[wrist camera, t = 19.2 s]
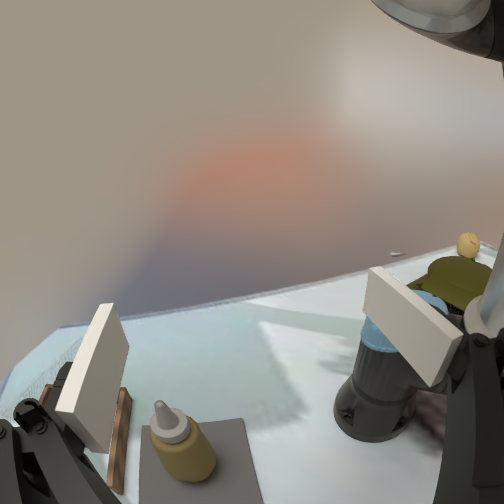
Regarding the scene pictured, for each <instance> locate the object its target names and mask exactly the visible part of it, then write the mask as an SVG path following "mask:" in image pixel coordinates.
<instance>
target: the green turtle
mask: <svg viewBox="0 0 504 504" xmlns="http://www.w3.org/2000/svg"><path fill="white" fill-rule="evenodd" d="M491 272H492V269H491V268H490V267H488V266H487V265H485V264H481V263H478V262H475V260H473V259H470V258H466V257H460V256H448V257H442V258H439V259H437V260H435V261H433V262H432V263H431V264H430V266H429V267H428V274H426V275H424V276H422V277H421V278H419V279H417V280H415V281H413V282H411V283H410V284H408V285H406V286H407V287H408V288H409V289H411V290H420V291H423V290H424V291H426V292H428V293H431V294H433V296H435V297H439V298H440V299H441V300H442V301H444V302H446V303H448V304H450V305H452V306H453V307H455V308H457V309H459V310H461V311H462V312H465V310H466V308H467V306H468V304H469V303H470V302H471V301H472V300H473V299H474V298H476V297H478V296H480V295H483V293H484V290H485V288H486V285H487V283H488V280H489V277H490V274H491Z"/></svg>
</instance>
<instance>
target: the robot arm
mask: <svg viewBox="0 0 504 504" xmlns="http://www.w3.org/2000/svg"><path fill="white" fill-rule="evenodd" d="M371 1H372V2H373V3H374V4H375V5H376V6H377V7H378V8H379V9H381V10H382V11H383V12H384V13H385V14H387V15H388V16H389V17H391V18H392V19H393V20H395V21H397V22H399V23H400V24H402V25H403V26H405V27H407V28H409V29H411V30H413V31H414V32H416V33H419V34H421V35H423V36H426V37H427V38H430V39H432V40H434V41H436V42H439V43H441V44H443V45H446V46H449V47H451V48H453V49H457V50H460V51H463V52H466V53H469V54H472V55H476V56H480V57H484V58H488V59H493V60H496V61H499V62H501V63H502V67H503V76H504V0H371ZM363 312H364V313H365V314H366V315H367V316H366V320H365V323H364V326H363V327H362V330H361V341H360V346H359V350H358V354H357V358H356V362H355V366H354V370H353V373H352V375H351V376H350V377H349V378H348V379H347V381H346V382H345V383H344V384H343V385H342V387H341V388H340V389H339V391H338V393H337V396H336V399H335V403H334V417H335V420H336V422H337V424H338V425H339V427H340V428H341V429H342V430H343V431H344V432H345V433H346V434H348V435H349V436H351V437H353V438H355V439H357V440H360V441H364V442H382V441H386V440H389V439H391V438H393V437H395V436H397V435H398V434H399V433H401V432H402V431H403V430H404V429H405V427H406V426H407V424H408V423H409V421H410V420H411V418H412V415H413V413H414V408H415V396H416V390H417V389H419V390H424V391H429V392H434V393H439V394H444V395H447V415H446V429H445V439H444V448H443V455H442V462H441V468H440V474H439V479H438V484H437V488H436V493H435V497H434V501H433V504H504V233H503V236H502V240H501V244H500V247H499V250H498V254H497V257H496V260H495V263H494V266H493V269H492V272H491V274H490V277H489V280H488V283H487V285H486V288H485V290H484V293H483V295H480V296H478V297H476V298H474V299H473V300H472V301H471V302H470V303H469V304H468V306H467V308H466V310H465V312H464V314H463V316H461V315H456V314H451V313H448V309H447V306H446V304H445V303H444V302H443V301H442V300H441V299H440V298H439V297H433V294H431V293H428V292H425V291H420V290H411V289H409V288H408V287H407V286H405V285H404V284H403V283H402V282H400V281H399V280H398V279H396V278H395V277H394V276H393V275H391V274H390V273H389V272H387V271H386V270H385V269H383V268H382V267H381V266H379V267H373V268H369V273H368V281H367V287H366V294H365V300H364V306H363ZM129 347H130V346H129V344H128V341H127V339H126V336H125V333H124V331H123V328H122V325H121V322H120V320H119V317H118V314H117V311H116V308H115V305H114V303H110V304H100V306H99V308H98V310H97V312H96V314H95V316H94V318H93V320H92V322H91V324H90V326H89V328H88V330H87V333H86V335H85V337H84V339H83V341H82V343H81V346H80V348H79V350H78V352H77V355H76V357H75V359H74V362H66V363H65V364H64V365H63V366H62V368H61V369H60V370H59V372H58V374H57V377H56V380H55V382H54V384H53V388H52V389H51V391H50V394H49V396H48V399H47V401H46V404H45V407H44V408H43V407H42V405H41V404H40V403H39V401H38V400H36V399H34V398H27V399H24V400H22V401H21V402H20V403H18V405H17V406H16V407H15V410H14V413H13V416H14V420H15V421H16V422H17V423H18V424H19V425H20V427H13V426H12V425H11V424H10V423H9V421H7V420H5V419H0V504H122V503H121V502H120V501H119V500H118V499H117V497H116V496H115V495H114V494H113V492H112V491H111V490H110V488H109V487H108V486H107V484H106V483H105V482H104V480H103V479H102V478H101V476H100V475H99V473H98V472H97V471H96V469H95V468H94V466H93V465H92V463H91V462H90V460H89V459H88V457H87V456H86V455H85V454H84V446H86V447H87V448H88V449H89V450H90V451H91V452H95V453H104V454H109V448H110V441H111V434H112V428H113V422H114V416H115V411H116V405H117V400H118V395H119V390H120V386H121V381H122V376H123V372H124V367H125V363H126V359H127V355H128V351H129Z"/></svg>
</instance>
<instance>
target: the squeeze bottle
mask: <svg viewBox="0 0 504 504" xmlns="http://www.w3.org/2000/svg"><path fill="white" fill-rule="evenodd" d="M154 406H155V412H156V413H155V414H154V415H153V416H152V418H151V421H150V427H151V429H150V433H149V435H150V439H151V443H152V445H153V447H154V449H155V451H156V453H157V455H158V457H159V459H160V461H161V463H162V465H163V467H164V469H165V470H166V471H167V472H168V473H169V474H170V475H171V476H173V477H175V478H177V479H179V480H182V481H188V482H199V481H202V480H204V479H206V478H207V477H209V475H210V474H211V472H212V470H213V468H214V466H215V465H216V454H215V452H214V450H213V447H212V446H211V444H210V443H209V441H208V440H207V438H206V437H205V435H204V434H203V432H202V430H201V429H200V427H199V426H198V424H197V423H196V422H195V421H194V420H193V419H192V418H191V417H189V416H186V415H185V414H184V413H183V412H182V411H181V410H178V409H176V408H169V407H168V406H167V405H166V404H165V403H164V402H163V401H161V400H159V401H156V402H155V404H154Z"/></svg>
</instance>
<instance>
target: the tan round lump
mask: <svg viewBox="0 0 504 504" xmlns="http://www.w3.org/2000/svg"><path fill="white" fill-rule="evenodd" d="M479 249H480V242H479V238H478V237H477V236H476V235H475V234H473V233H471V232H470V233H464V234H462V235H461V236H460V237H459V239H458V241H457V251H458V253H459V254H460V255H462V256H464V257H467V258H473V257H475V256H476V255H477V253H478V252H479Z"/></svg>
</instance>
